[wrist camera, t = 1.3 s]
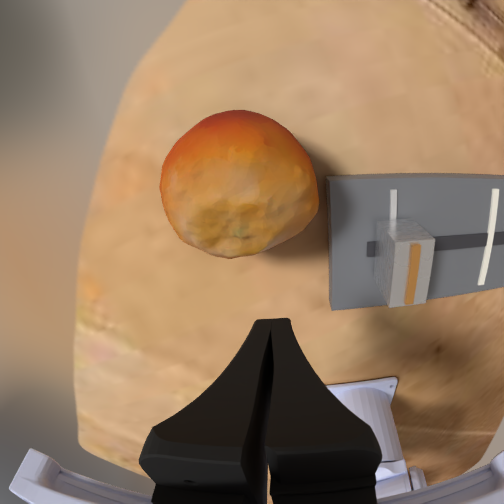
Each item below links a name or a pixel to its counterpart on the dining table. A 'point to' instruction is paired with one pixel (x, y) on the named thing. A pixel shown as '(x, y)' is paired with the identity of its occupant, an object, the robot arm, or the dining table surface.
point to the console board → (429, 218)
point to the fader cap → (403, 261)
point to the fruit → (238, 185)
